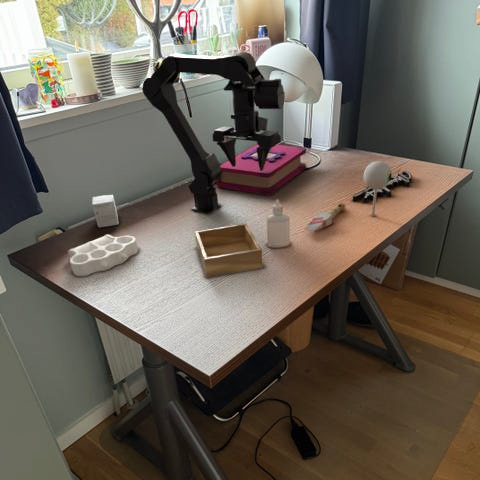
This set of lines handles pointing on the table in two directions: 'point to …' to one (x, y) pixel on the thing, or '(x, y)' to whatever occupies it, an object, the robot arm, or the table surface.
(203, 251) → the crate
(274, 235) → the eye dropper bottle
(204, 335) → the table surface
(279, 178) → the book
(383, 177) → the lollipop
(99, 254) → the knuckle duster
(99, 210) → the product box
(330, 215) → the cricket bat
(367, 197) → the nameplate
